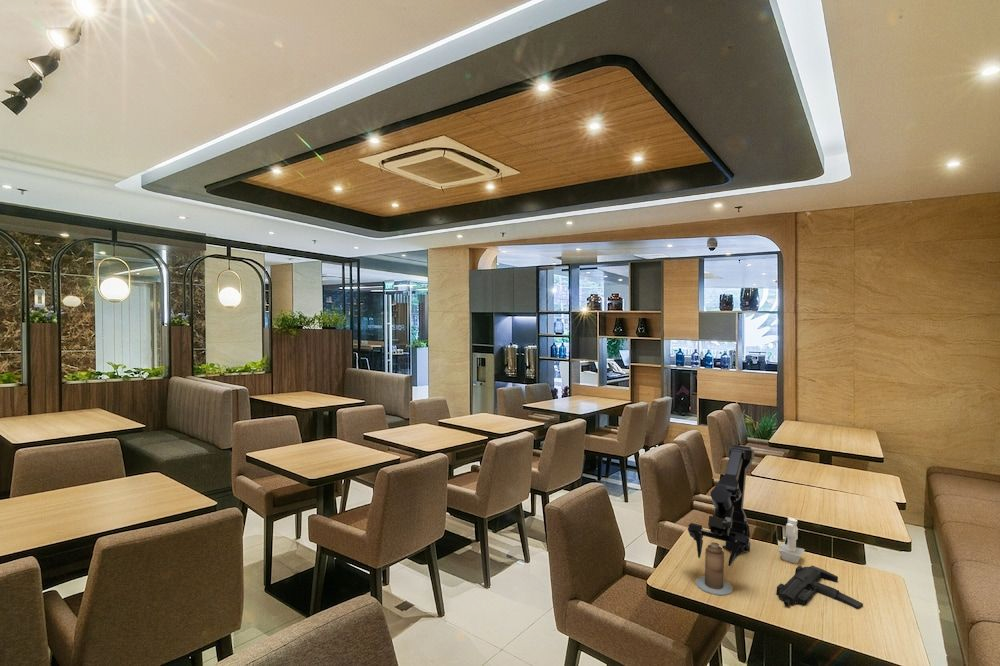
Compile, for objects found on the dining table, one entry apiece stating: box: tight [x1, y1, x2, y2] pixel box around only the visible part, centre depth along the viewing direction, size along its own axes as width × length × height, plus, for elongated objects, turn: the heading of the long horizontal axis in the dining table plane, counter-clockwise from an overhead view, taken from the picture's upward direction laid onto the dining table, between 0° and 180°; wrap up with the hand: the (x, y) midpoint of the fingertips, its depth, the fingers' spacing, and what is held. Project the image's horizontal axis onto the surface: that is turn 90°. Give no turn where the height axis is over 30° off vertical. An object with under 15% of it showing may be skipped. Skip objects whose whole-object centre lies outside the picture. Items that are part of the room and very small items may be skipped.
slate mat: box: [695, 575, 733, 596], centre depth 164 cm, size 11×11×1 cm
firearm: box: [775, 565, 864, 610], centre depth 158 cm, size 3×30×20 cm
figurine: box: [777, 517, 806, 565], centre depth 183 cm, size 7×9×15 cm
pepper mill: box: [704, 542, 725, 589], centre depth 164 cm, size 6×6×13 cm
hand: (713, 561), depth 163 cm, fingers open, 9 cm apart
